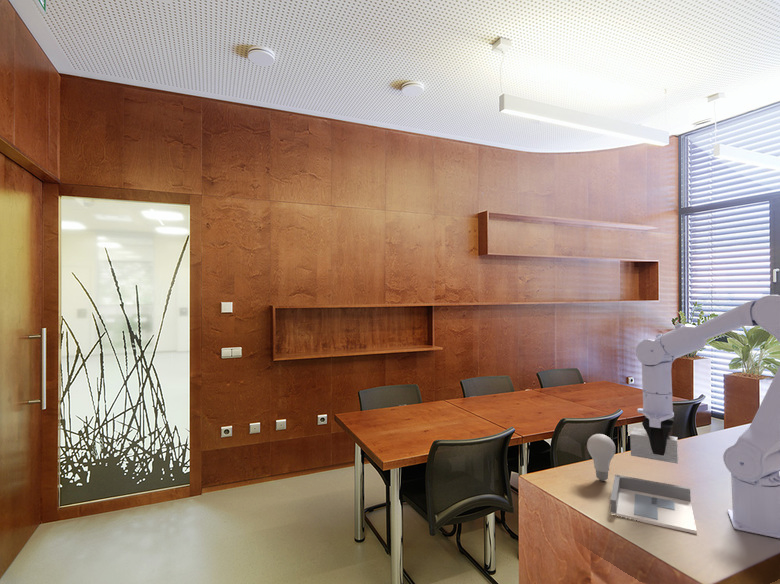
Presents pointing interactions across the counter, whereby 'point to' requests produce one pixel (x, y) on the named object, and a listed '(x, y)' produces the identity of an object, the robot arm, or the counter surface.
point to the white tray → (653, 503)
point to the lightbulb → (601, 454)
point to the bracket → (643, 447)
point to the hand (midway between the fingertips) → (659, 451)
